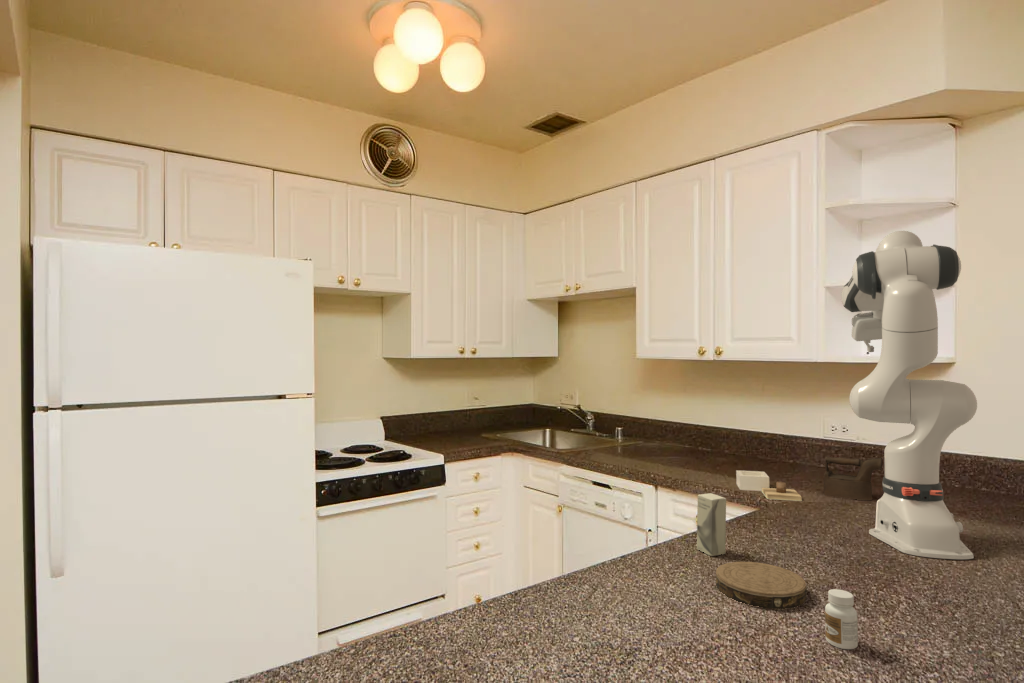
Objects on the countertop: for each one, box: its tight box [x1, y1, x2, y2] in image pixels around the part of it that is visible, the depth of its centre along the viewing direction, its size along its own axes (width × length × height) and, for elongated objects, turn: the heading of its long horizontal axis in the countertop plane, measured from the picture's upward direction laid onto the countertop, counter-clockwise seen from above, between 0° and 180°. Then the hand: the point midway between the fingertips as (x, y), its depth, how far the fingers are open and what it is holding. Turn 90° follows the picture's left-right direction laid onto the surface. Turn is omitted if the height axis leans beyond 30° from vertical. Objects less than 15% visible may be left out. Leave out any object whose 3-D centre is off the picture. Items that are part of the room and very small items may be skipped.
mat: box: [761, 491, 801, 502], centre depth 179 cm, size 10×10×1 cm
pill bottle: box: [824, 588, 859, 650], centre depth 89 cm, size 4×4×8 cm
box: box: [696, 492, 727, 557], centre depth 130 cm, size 5×4×13 cm
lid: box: [761, 481, 803, 502], centre depth 179 cm, size 10×10×4 cm
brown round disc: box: [715, 561, 807, 610], centre depth 109 cm, size 16×16×3 cm
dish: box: [735, 469, 770, 492], centre depth 191 cm, size 9×9×5 cm
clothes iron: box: [823, 455, 884, 501], centre depth 179 cm, size 8×16×13 cm, turn 51°
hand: (886, 350), depth 188 cm, fingers open, 8 cm apart
